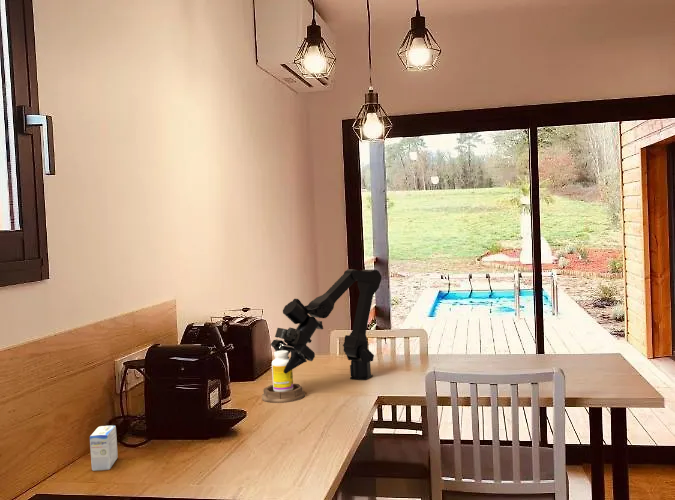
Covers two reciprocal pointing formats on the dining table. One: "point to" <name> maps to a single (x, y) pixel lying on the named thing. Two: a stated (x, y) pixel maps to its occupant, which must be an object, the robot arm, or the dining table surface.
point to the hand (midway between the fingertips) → (278, 371)
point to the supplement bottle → (281, 372)
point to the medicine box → (103, 448)
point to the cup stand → (283, 394)
